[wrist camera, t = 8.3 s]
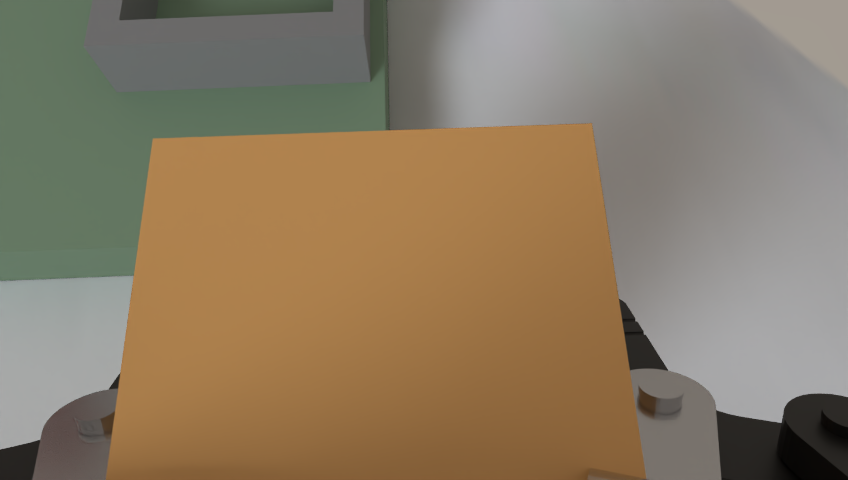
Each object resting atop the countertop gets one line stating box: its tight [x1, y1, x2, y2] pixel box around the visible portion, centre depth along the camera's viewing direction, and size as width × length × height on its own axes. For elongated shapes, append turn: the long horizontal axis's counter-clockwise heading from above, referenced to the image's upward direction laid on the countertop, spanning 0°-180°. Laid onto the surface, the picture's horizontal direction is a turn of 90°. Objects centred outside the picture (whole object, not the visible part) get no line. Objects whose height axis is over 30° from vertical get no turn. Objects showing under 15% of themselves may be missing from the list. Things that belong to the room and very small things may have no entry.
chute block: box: [106, 123, 646, 480], centre depth 11 cm, size 5×5×10 cm
